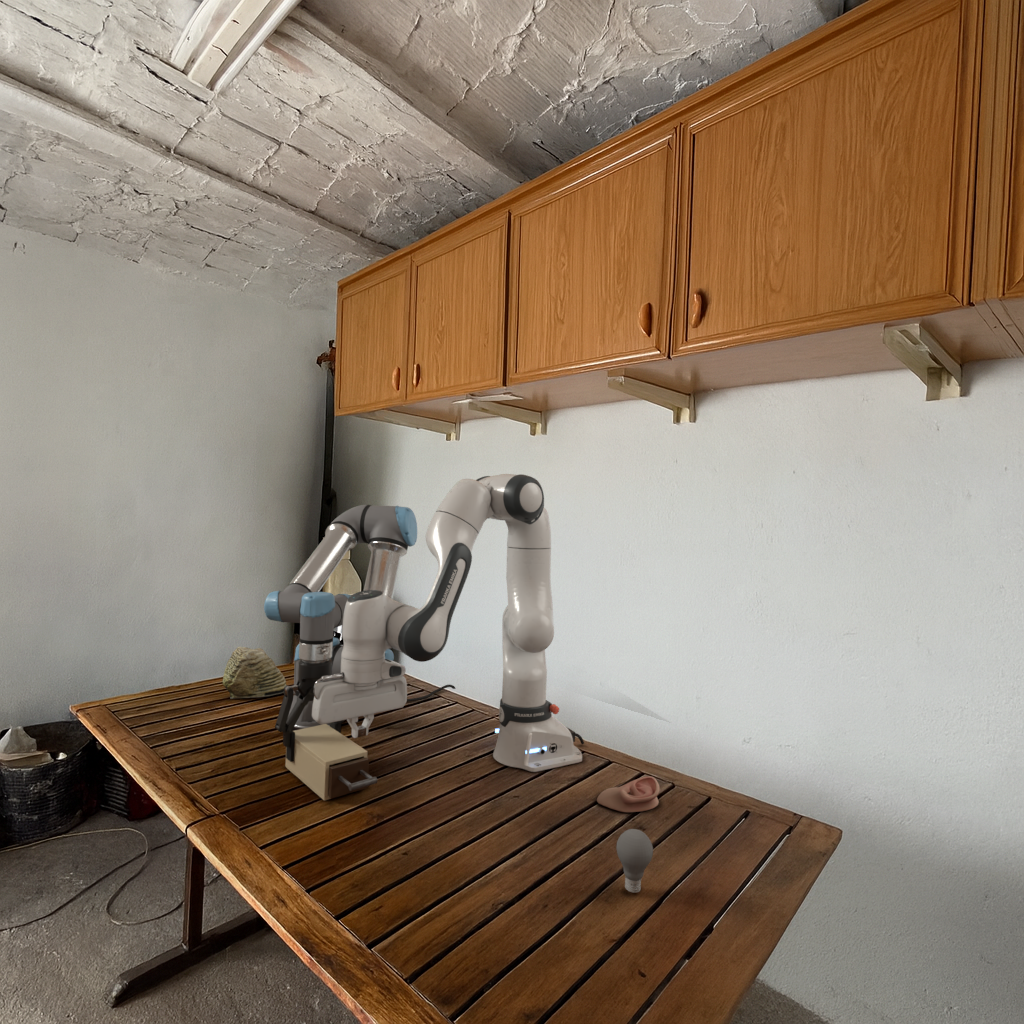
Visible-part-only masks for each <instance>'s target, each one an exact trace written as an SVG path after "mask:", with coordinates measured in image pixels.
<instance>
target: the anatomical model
mask: <svg viewBox="0 0 1024 1024" xmlns="http://www.w3.org/2000/svg"><path fill="white" fill-rule="evenodd" d="M660 790H661V788H660V784H659V782H658V781H657V779H656V777H654V776H650V775H647V776H643V777H639V778H637V779H633V780H631V781H629V782H627V783H625V784H622V785H621V786H618V787H617V786H615V787H609V788H606V789H604V790H603V791H601V792H600V793H599V794H598V796H597V797H596V802H597V803H598V804H599V805H600V806H603V807H606V808H608V809H611V810H614V811H617V812H621V813H636V812H637V813H638V812H645V811H649V810H652V809H655V808H657V806H658V805H659V803H660V802H659V799H658V796H659V794H660V792H661V791H660Z"/></svg>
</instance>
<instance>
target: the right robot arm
mask: <svg viewBox="0 0 1024 1024" xmlns="http://www.w3.org/2000/svg"><path fill="white" fill-rule="evenodd" d="M487 519H491V520H496V521H504V522H505V524H506V526H507V529H508V530H507V538H506V539H507V541H506V574H505V575H506V576H505V579H506V590H507V591H506V592H507V605H506V607H505V608H504V610H503V613H502V622H501V623H502V629H501V631H502V634H501V635H502V636H501V637H502V638H501V639H502V643H501V644H502V687H501V688H502V689H501V698H500V700H499V708H498V722H499V727H498V728H494V729H495V730H494V733H496V734H497V737H496V743H495V747H494V750H493V753H492V757H493V759H494V760H495V761H497V762H498V763H499V764H502V765H504V766H507V767H511V768H515V769H516V768H517V769H522V770H525V771H528V772H531V773H538V772H542V771H545V770H550V769H556V768H560V767H564V766H568V765H574V764H578V763H582V762H583V753H582V752H581V750H580V749H579V747H577V746H576V745H575V744H574V743H575V742H576V738H578V740H579V742H580V744H581V745H584V744H585V741H584V739H583V737H582V736H581V735H580V734H579V733H576V731H575V730H572V729H571V728H569V727H568V726H566V725H564V723H562V722H561V721H560V720H559V719H557V718H556V717H555V716H553V715H552V714H554V715H558V714H559V713H560V707H559V705H556V704H555V703H552V702H550V701H549V700H547V681H548V679H547V678H548V668H547V660H546V659H547V658H546V657H547V656H546V649H548V648H549V646H550V645H551V644H552V642H553V640H554V636H555V626H554V625H555V624H554V607H553V595H552V583H551V582H552V581H551V570H552V568H551V567H552V565H551V564H552V531H551V522H550V517H549V512H548V510H547V509H546V507H545V494H544V489H543V487H542V485H541V483H540V482H539V480H537V479H536V478H535V477H533V476H531V475H528V474H527V475H526V474H514V473H502V474H497V475H485V476H482V477H479V478H477V479H472V478H462V479H459V480H458V481H457V482H456V483H455V484H454V485H453V486H452V487H451V488H450V490H449V491H448V492H447V493H446V495H445V497H444V498H443V499H442V501H441V502H440V504H439V505H438V507H437V509H436V510H435V512H434V514H433V516H432V517H431V520H430V521H429V523H428V526H427V528H426V533H425V541H426V542H425V543H426V546H427V548H428V550H429V551H430V553H431V554H432V555H433V557H434V558H435V559H436V562H437V564H438V569H437V574H436V577H435V579H434V581H433V583H432V585H431V589H430V591H429V593H428V596H427V598H426V601H425V602H424V604H423V605H422V606H421V607H420V608H417V607H415V606H412V605H408V604H406V603H402V602H400V601H397V600H395V599H394V598H393V599H391V598H389V597H388V596H386V595H385V594H384V593H383V592H382V591H378V590H366V591H364V590H361V591H359V592H355V593H353V594H351V596H350V597H349V598H348V600H347V602H346V605H345V609H344V616H343V625H342V629H341V637H342V640H343V645H344V646H343V650H342V653H341V673H338V674H333V675H329V676H328V675H325V676H322V677H321V678H320V679H319V680H318V681H317V682H316V683H315V685H314V700H313V706H312V718H313V719H314V720H315V721H316V722H318V723H319V724H327V723H332V722H337V721H341V720H344V721H345V720H346V721H347V723H348V725H349V727H350V728H351V737H352V738H353V739H357V738H360V737H361V738H363V737H366V736H369V728H370V726H371V724H372V723H373V721H374V719H375V714H378V713H383V712H387V711H388V712H389V711H392V710H393V711H394V710H398V709H402V708H404V706H405V705H406V704H407V703H408V702H407V699H408V682H407V679H406V677H405V674H406V669H407V668H406V666H405V665H403V664H401V663H399V662H397V661H395V660H393V661H392V660H388V659H385V651H386V650H387V649H393V650H395V651H398V652H400V653H402V654H404V655H405V656H407V657H408V658H410V659H412V660H413V661H416V662H419V663H421V662H422V663H423V662H424V663H425V662H429V661H431V660H433V659H435V658H436V657H437V656H439V655H440V654H441V653H442V652H443V650H444V649H445V647H446V645H447V642H448V639H449V634H450V628H451V623H452V618H453V615H454V612H455V609H456V607H457V605H458V602H459V599H460V597H461V594H462V591H463V590H464V586H465V583H466V581H467V578H468V577H469V573H470V569H471V566H472V561H473V555H472V551H473V549H474V545H475V543H476V540H477V538H478V536H479V535H480V532H481V531H482V528H483V525H484V524H485V522H486V521H487ZM319 681H321V682H319ZM361 717H364V719H363V721H362V724H361V725H357V723H358V722H359V718H361Z"/></svg>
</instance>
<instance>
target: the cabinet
mask: <svg viewBox="0 0 1024 1024" xmlns="http://www.w3.org/2000/svg"><path fill="white" fill-rule="evenodd" d="M292 731H293V732H295V747H294V761H292V762H290V761H289V760H288V759H287V758H286V757H285V768H286V769H287V770H288V771H290V773H291V774H293V775H294V776H295V777H296V778H298V779H299V780H300V781H301V782H302V783H303V784H304V785H306V786H307V787H308V788H309V789H310V790H311V791H312V792H313V793H315V794H316V795H317V796H318V797H319V798H320V799H321V800H323V801H328V800H331V798H329V791H328V787H329V765H332V764H336V763H340V762H344V761H347V760H351V759H355V758H359V757H360V759H362V758H366V757H367V758H368V753H369V752H368V750H366V749H365V748H363V747H362V746H361V745H358V744H357V743H356V742H354V741H353V740H351V739H350V738H348V737H347V736H345V735H344V734H342V732H341V733H339V732H338V731H336V730H335V729H333V728H332V727H330V726H329V725H327V724H323V725H318V726H314V727H309V728H304V729H300V730H292Z"/></svg>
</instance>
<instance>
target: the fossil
mask: <svg viewBox="0 0 1024 1024" xmlns="http://www.w3.org/2000/svg"><path fill="white" fill-rule="evenodd" d="M222 676H223V677H222V685H223V687H224V688H225V690H226V691H228V693H229V698H230V699H250V698H264V697H271V696H275V695H281V694H284V687H285V686H286V685H287V680H286V678H285V676H284V674H283V673H282V672H281V669H279V668H278V667H277V665H276V663H275V662H274V660H273V659H272V658H271V657H270V656H269V655H268V654H267V653H266V652H265V650H264V649H263V648H260V647H258V648H251V647H247V646H246V647H245V646H238V647H237V648H236V649H235V650H233V651H232V653H231V656H230V657H229V659H228V660H227V663H226V666H225V668H224V671H223V675H222Z"/></svg>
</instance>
